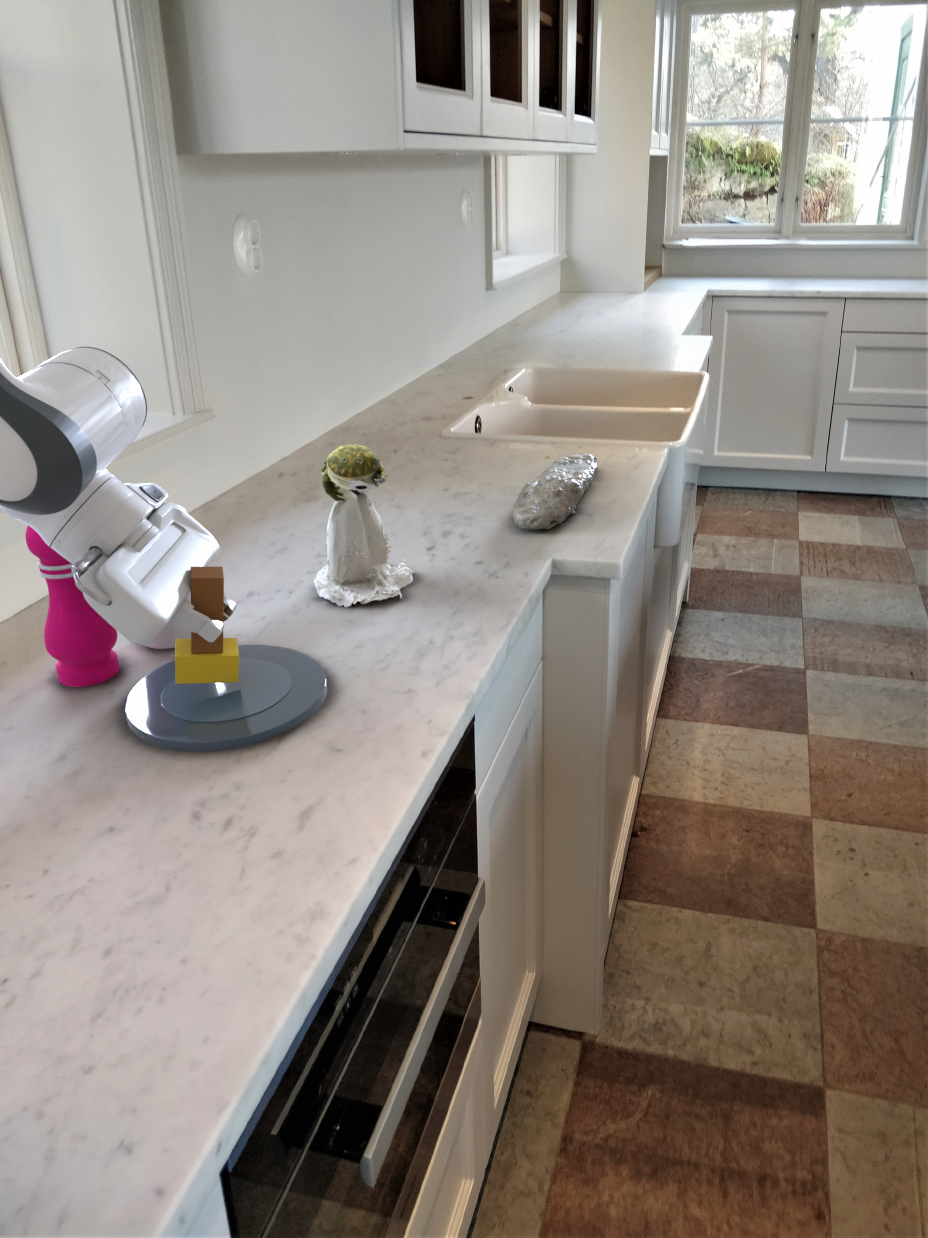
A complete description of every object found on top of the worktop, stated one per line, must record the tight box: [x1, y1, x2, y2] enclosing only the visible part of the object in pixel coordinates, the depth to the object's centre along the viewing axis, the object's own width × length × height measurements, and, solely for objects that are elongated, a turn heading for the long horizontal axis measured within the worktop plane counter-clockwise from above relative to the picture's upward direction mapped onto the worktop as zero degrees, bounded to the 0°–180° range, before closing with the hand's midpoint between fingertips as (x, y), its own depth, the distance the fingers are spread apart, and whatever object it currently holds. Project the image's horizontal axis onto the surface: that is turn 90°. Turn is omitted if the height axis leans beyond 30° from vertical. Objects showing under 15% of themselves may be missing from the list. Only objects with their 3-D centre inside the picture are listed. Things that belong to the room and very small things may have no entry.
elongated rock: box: [511, 452, 599, 530], centre depth 152 cm, size 35×5×10 cm
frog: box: [313, 444, 415, 608], centre depth 119 cm, size 12×13×18 cm
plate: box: [124, 644, 328, 753], centre depth 97 cm, size 20×20×1 cm
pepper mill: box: [25, 525, 120, 688], centre depth 100 cm, size 7×7×20 cm
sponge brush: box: [174, 566, 239, 684], centre depth 94 cm, size 6×4×11 cm, turn 105°
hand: (225, 624), depth 94 cm, fingers closed on sponge brush, 3 cm apart
